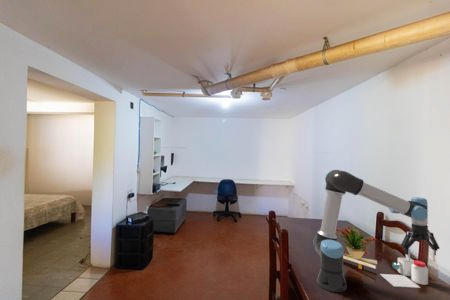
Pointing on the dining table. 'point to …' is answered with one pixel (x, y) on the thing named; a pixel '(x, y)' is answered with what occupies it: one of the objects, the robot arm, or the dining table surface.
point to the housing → (405, 266)
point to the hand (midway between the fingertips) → (420, 260)
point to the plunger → (397, 266)
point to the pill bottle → (419, 273)
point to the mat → (399, 281)
